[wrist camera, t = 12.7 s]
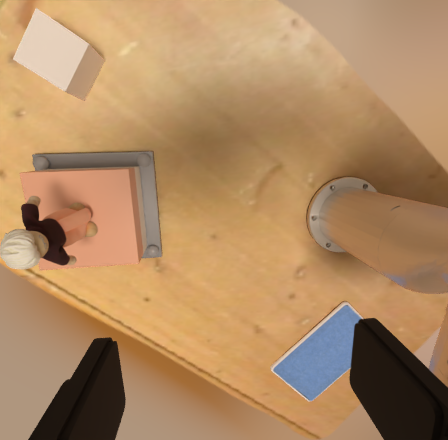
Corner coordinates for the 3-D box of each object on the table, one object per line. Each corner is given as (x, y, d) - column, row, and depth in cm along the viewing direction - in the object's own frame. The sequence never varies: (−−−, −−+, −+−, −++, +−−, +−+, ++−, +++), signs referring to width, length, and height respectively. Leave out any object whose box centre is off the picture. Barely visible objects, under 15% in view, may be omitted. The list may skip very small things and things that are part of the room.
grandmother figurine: (112, 233, 34) (67, 279, 22) (87, 250, 34) (28, 305, 22) (69, 181, 32) (-7, 199, 19) (43, 199, 32) (-50, 229, 20)
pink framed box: (153, 151, 40) (144, 151, 32) (162, 254, 43) (155, 276, 36) (36, 154, 38) (-4, 155, 30) (56, 261, 42) (25, 286, 34)
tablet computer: (308, 399, 55) (310, 404, 54) (267, 365, 52) (269, 370, 51) (380, 335, 53) (385, 340, 52) (342, 297, 50) (346, 300, 49)
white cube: (61, 31, 35) (36, 7, 29) (105, 60, 36) (89, 43, 30) (41, 74, 36) (12, 59, 30) (84, 101, 37) (65, 91, 31)
